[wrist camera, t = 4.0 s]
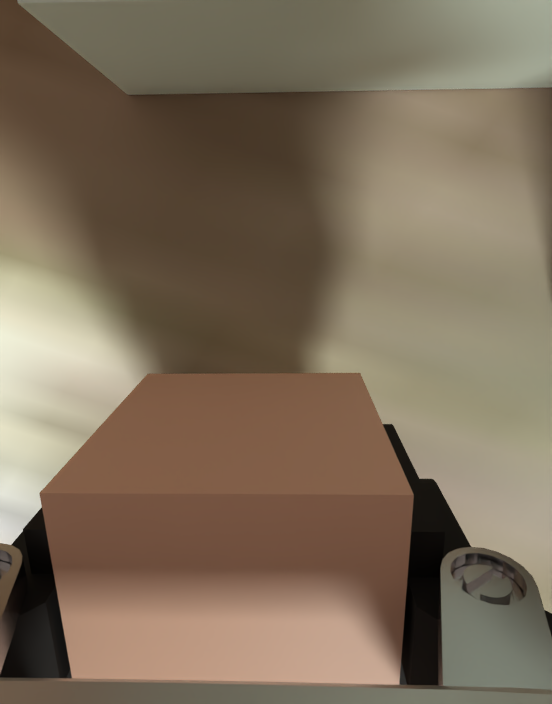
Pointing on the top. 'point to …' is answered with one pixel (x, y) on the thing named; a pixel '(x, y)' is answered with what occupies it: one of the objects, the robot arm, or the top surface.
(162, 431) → the terracotta cube
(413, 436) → the top surface
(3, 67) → the top surface
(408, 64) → the sage tote
